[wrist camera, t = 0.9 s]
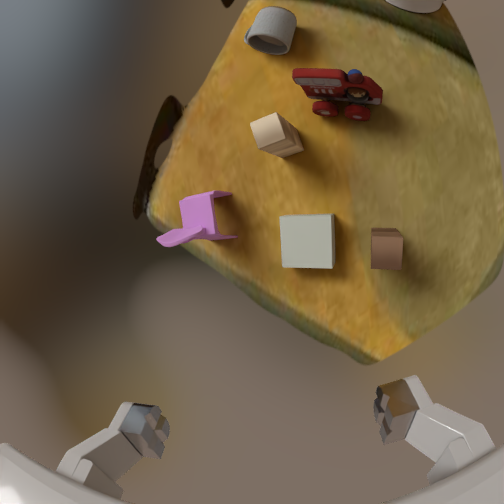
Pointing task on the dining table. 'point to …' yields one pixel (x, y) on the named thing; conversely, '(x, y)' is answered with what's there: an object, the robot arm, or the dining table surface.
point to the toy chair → (196, 220)
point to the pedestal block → (308, 240)
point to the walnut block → (386, 249)
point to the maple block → (276, 136)
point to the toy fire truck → (339, 91)
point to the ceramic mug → (272, 30)
